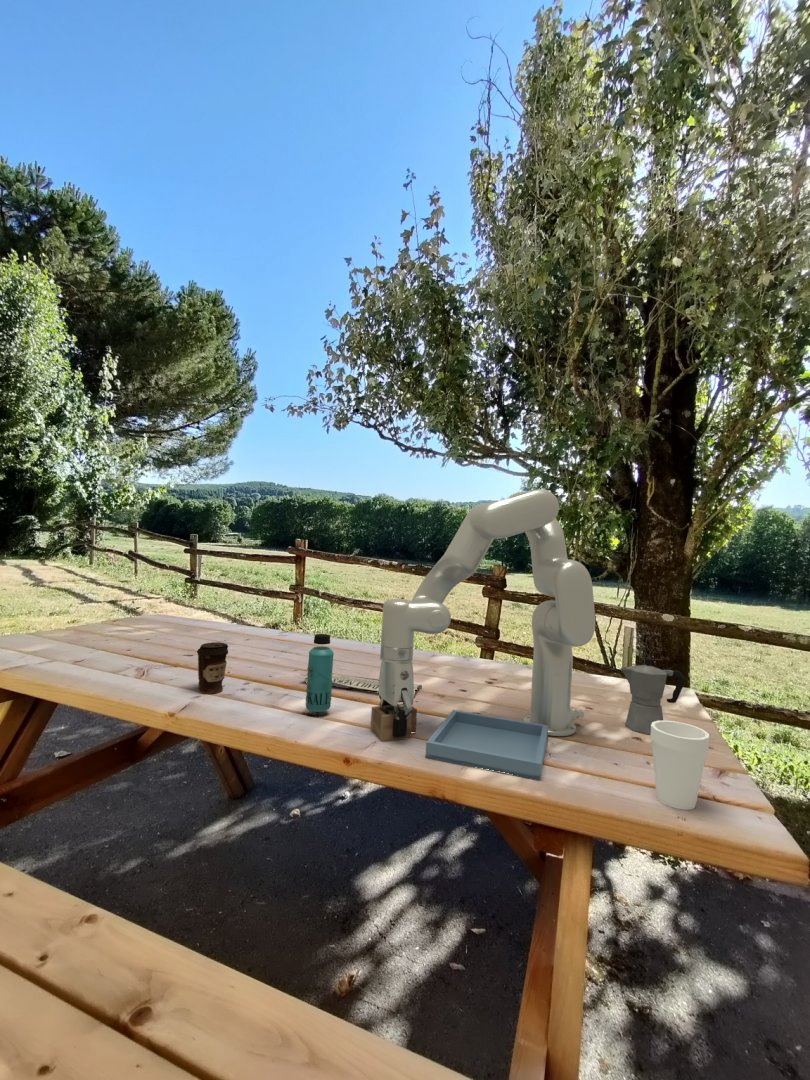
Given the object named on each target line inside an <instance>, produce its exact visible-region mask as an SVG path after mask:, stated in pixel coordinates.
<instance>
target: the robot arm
mask: <svg viewBox="0 0 810 1080" xmlns="http://www.w3.org/2000/svg"><path fill="white" fill-rule="evenodd" d="M559 511H560V505H559V500H558V498H557V496H555V494H554V493H553V492H551V491H549V490H548V489H547V490H546V489H544V488H543V489H542V488H540V489H539V488H537V489H532V490H525V491H519V492H515V493H513V494H511V495H510V496H509V497H507V498H506V499H502V500H498V501H492V502H491V501H490V502H485V503H479V504H476V505H474V506H472V507H471V508H470V510H469V511H468V513H467V514H466V516H465V518H464V519H463V521H462V523H461V524H460V526H459V527H458V530H457V531H456V533H455V535H454V537H453V539H452V540H451V542H450V543H449V545H448V547H447V549H446V551H445V552H444V554H443V555H442V556H441V557H440V558H439V560H438V561H437V562H436V563H435V565H434V566H433V567H432V569H431V570H430V571H429V572H428V573H427V574H426V576H425V577H424V579H423V580H422V581H421V582H420V584H419V586H418V588H417V590H416V592H415V593H414V595H413V597H412V599H411V600H409V599H403V598H389V599H386V600H385V601H384V602H383V605H382V622H381V637H380V655H379V659H380V660H381V661H380V667H379V668H380V669H379V676H378V677H379V678H378V680H379V687H378V688H379V693H378V695H379V696H378V697H379V700H380V701H379V705H378V706H386V705H392V706H394V713H395V719H393V737H403V736H406V732H407V719H408V715H409V713H410V711H411V709H412V706H413V704H414V698H415V695H414V684H415V682H414V679H415V678H414V666H413V656H414V642H415V641H414V639H415V638H414V637H415V632H417V633H423V634H428V635H437V634H440V633H442V632H444V631H446V630H447V629H448V628H449V626H450V624H451V620H452V615H451V612H450V610H449V608H448V607H447V606H446V605H445V604H444V601H445V600H446V598H447V597H448V595H449V594H450V592H451V591H452V590H453V589H454V588H455V587H457V585H459V584H460V583H462V582H464V581H465V580H467V579H468V578H470V577H472V576H473V575H474V574H475V573H476V571H477V570H478V568H479V566H480V565H481V563H482V561H483V559H484V558H485V556H486V554H487V552H488V551H489V548H490V547H491V545H492V543H493V541H494V540H498V539H499V540H500V539H505V538H509V537H513V536H516V535H519V534H523V533H525V535H526V536H527V538H528V539H527V540H528V542H529V548H530V553H531V555H530V557H531V565H532V577H533V580H532V581H533V584H534V588H535V589H536V590H537V591H538V592H539V593H541V594H543V595H545V596H548V597H551V598H552V597H553V598H554V599H555V600H553V599H552V600H551V599H550V600H545V601H543V602H540V603H539V604H538V605H537V606H536V607H535V608H534V610H533V612H532V617H531V629H532V630H531V631H532V639H533V659H532V673H531V675H532V677H531V692H530V693H531V694H530V708H529V711H530V712H529V714H528V715H526V716H525V717H524V718H523V721H524V722H530V723H536V724H543V725H548V736H552V737H566V736H567V737H568V736H571V735H574V734H575V732H576V730H577V729H576V728H577V727H576V725H575V723H574V722H573V721H574V720H575V719H582V718H584V717H585V713H584V711H583V710H582V709H578V710H573V709H572V708H571V697H572V680H573V677H572V676H573V665H574V664H573V662H574V655H573V648H572V647H574V648H575V647H576V648H577V647H578V648H579V647H582V646H585V645H587V644H588V643H589V642H590V641H591V640H592V639H593V636H594V634H595V630H596V613H595V612H596V611H595V601H594V598H595V597H594V590H593V588H594V587H593V581H592V578H591V574H590V572H589V571H588V569H587V568H586V567H585V565H584V564H582V563H581V562H580V561H577V560H574V559H568V554H567V553H568V551H567V546H566V539H565V535H564V531H563V527H562V526H561V525H560V523H559V521H558V520H557V517H558V514H559ZM399 703H401V704H399ZM398 704H399V705H398ZM398 708H403V710H401V711H400V712H399V710H398Z"/></svg>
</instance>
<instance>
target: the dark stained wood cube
mask: <svg viewBox="0 0 810 1080" xmlns="http://www.w3.org/2000/svg"><path fill="white" fill-rule="evenodd" d="M398 705H400V704H399V703H398ZM386 706H390V705H386ZM398 710H399V712H400V711H401V710H403V708H398ZM370 712H371V715H370V716H371V717H370V729H369V730H370V732H371V733H373V734H374V735H375V737H377V738H378V739H379V740H380V741H381V742H383V741H384V742H389V741H390V742H391V741H397V740H398V739H399V740H406V739H405V738H407V739H411V736H412V734H411V732H416V733H417V718H418V717H417V715H418V709H417V708H415V707H414V706H413V705H412V709H411V711H410V713H409V715H408V719H407V732H406V736H403V737H393V719H395V713H394V714H389V710H383V706H380V705H377V706H371V711H370Z"/></svg>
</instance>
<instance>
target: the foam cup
mask: <svg viewBox="0 0 810 1080" xmlns="http://www.w3.org/2000/svg"><path fill="white" fill-rule="evenodd" d="M649 736H650V737H649V738H650V739H651V746H652V747H651V748H652V758H653V759H652V760H653V770H654V783H655V784H654V785H655V794H656V798H657V800H658V801H659V802H660V803H662V804H664V805H665V806H668V807H672V808H674V809H678V810H683V811H691V810H694V809H695V808H696V805H697V801H698V797H699V796H698V795H699V791H700V787H701V782H702V775H703V772H704V767H705V761H706V757H707V752H709V747H710V746H709V745H710V744H709V743H710V741H709V740H710V734H709V733H708V732H707V731H706V730H704V729H703V728H701V727H697V726H695V725H693V724H689V723H685V722H681V721H673V720H663V721H655V722H652V724H651V734H650V735H649Z"/></svg>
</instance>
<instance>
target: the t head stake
mask: <svg viewBox="0 0 810 1080" xmlns="http://www.w3.org/2000/svg"><path fill="white" fill-rule="evenodd" d="M383 710H389V714H394V706H392V705H390V706H383Z"/></svg>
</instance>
